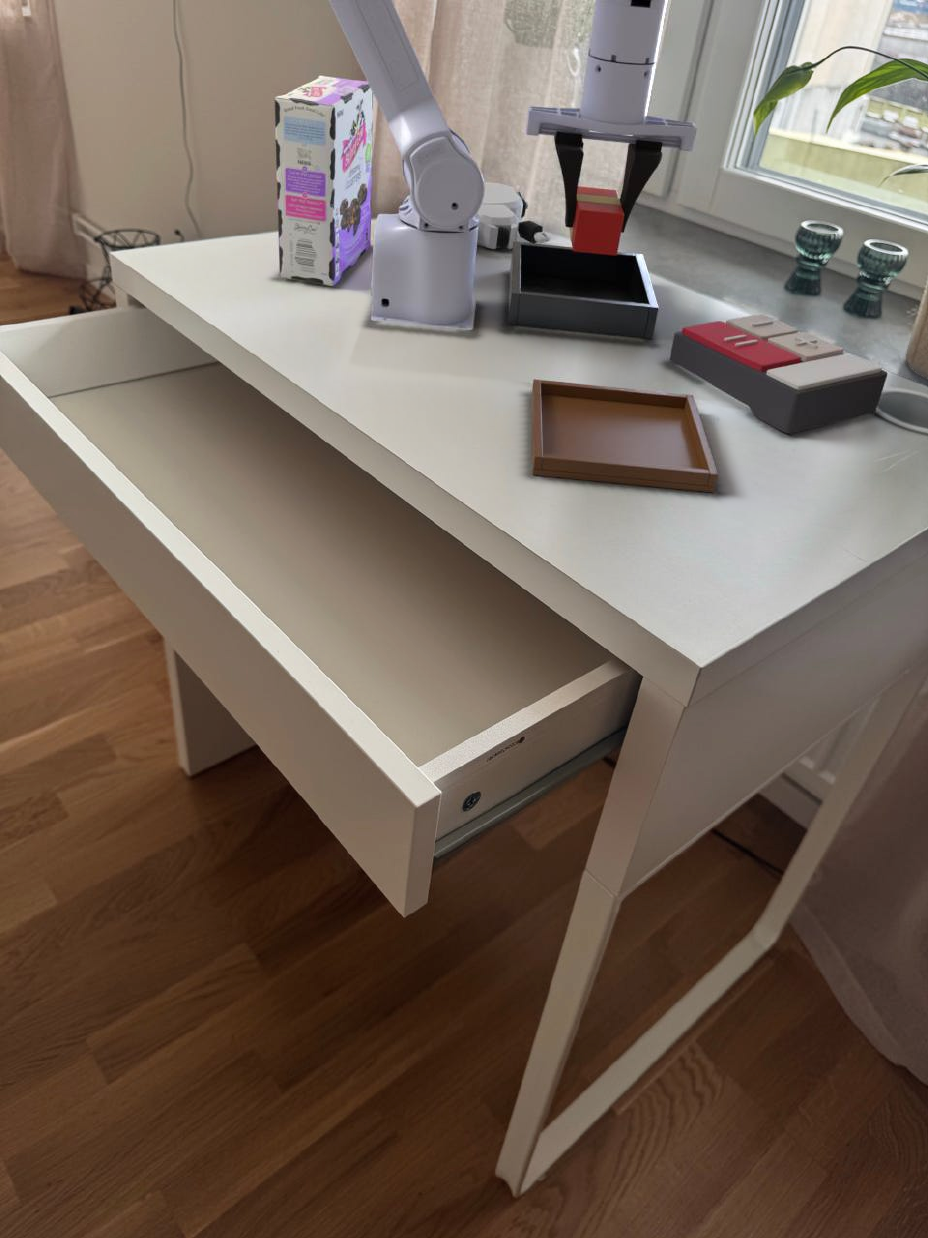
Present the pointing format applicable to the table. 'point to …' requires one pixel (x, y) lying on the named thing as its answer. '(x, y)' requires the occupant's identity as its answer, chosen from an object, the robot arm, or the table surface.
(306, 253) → the candy box
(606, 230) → the red yellow banded block
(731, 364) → the calculator
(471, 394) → the table surface
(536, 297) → the dark grey open bin
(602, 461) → the tray
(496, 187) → the robot toy
